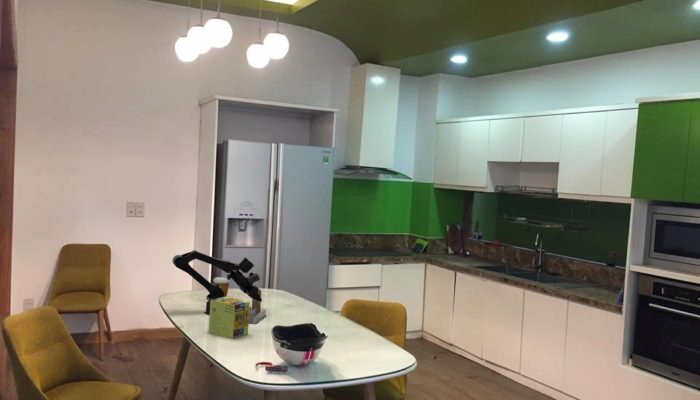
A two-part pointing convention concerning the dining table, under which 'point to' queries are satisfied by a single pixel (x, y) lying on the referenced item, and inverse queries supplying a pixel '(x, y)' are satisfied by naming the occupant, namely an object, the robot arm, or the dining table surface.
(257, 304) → the door panel
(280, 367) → the dining table surface
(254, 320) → the door track
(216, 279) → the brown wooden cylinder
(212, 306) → the protein box
